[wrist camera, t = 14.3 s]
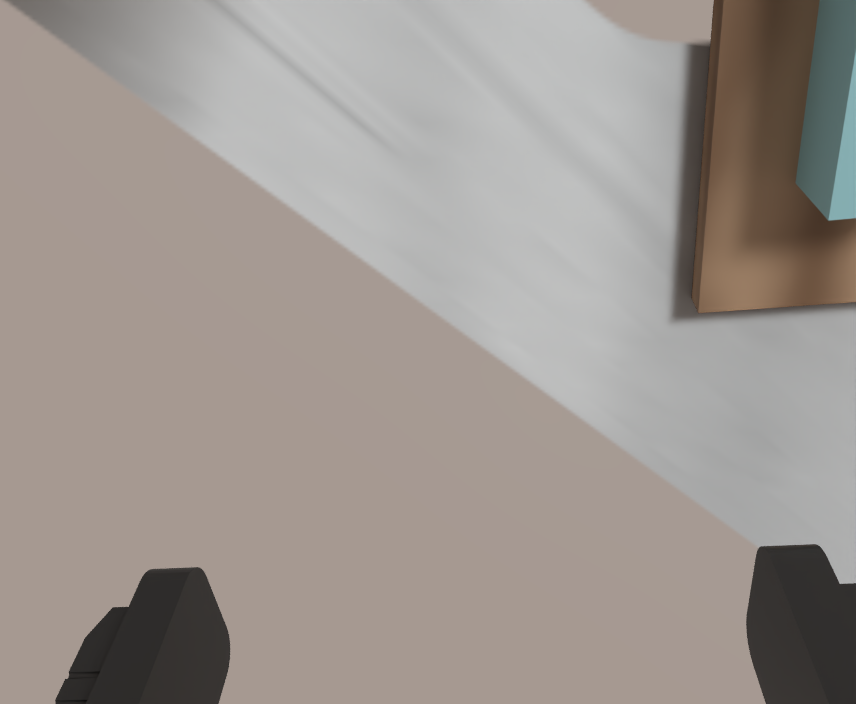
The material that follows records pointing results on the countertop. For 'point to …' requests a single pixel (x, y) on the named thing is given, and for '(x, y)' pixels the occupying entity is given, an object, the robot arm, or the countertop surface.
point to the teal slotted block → (831, 114)
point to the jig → (763, 169)
